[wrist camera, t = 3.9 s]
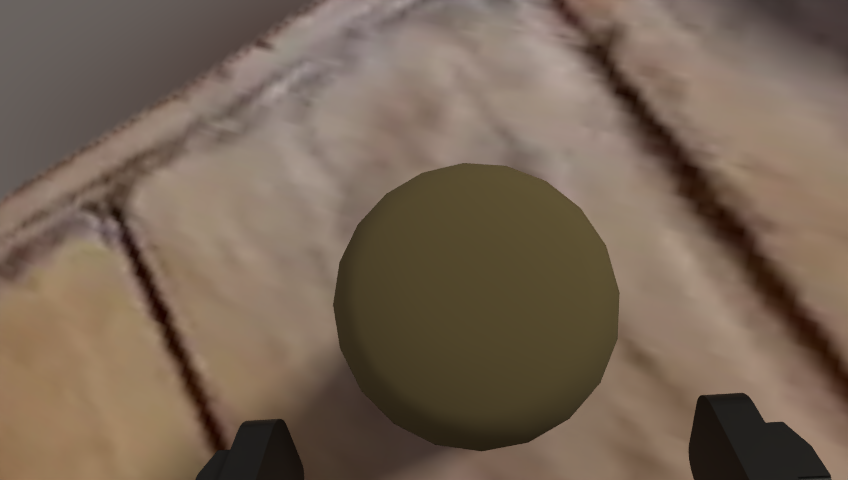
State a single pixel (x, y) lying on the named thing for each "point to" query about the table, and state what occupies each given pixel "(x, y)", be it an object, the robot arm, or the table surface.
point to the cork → (476, 306)
